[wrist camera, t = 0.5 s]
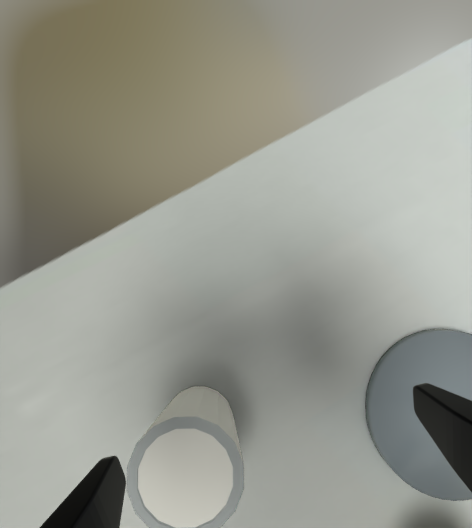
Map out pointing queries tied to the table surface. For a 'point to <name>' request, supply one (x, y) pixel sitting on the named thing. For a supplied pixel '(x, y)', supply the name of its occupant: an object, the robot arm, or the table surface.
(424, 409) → the robot arm
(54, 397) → the table surface
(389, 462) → the slate dish
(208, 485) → the white cup
